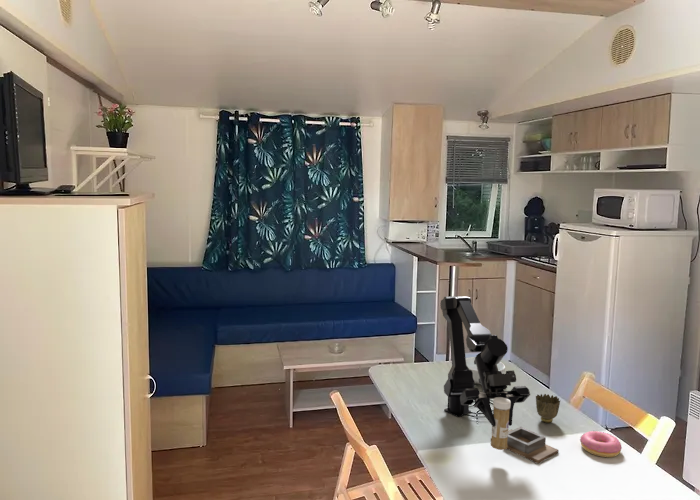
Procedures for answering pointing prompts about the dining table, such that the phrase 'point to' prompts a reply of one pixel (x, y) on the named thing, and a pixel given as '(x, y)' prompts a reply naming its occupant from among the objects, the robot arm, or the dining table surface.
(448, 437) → the dining table surface
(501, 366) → the cereal bowl
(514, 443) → the socket board
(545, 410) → the cup
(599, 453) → the doughnut
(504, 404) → the sprinkles bottle
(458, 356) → the robot arm
